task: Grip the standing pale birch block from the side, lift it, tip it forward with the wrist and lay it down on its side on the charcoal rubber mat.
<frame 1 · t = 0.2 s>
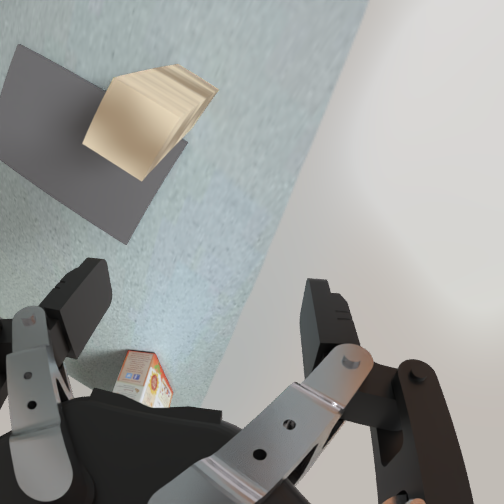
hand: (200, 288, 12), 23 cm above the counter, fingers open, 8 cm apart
cracker box: (151, 371, 58), on the counter
mat: (67, 142, 32), on the counter
wooden block: (184, 96, 29), on the counter
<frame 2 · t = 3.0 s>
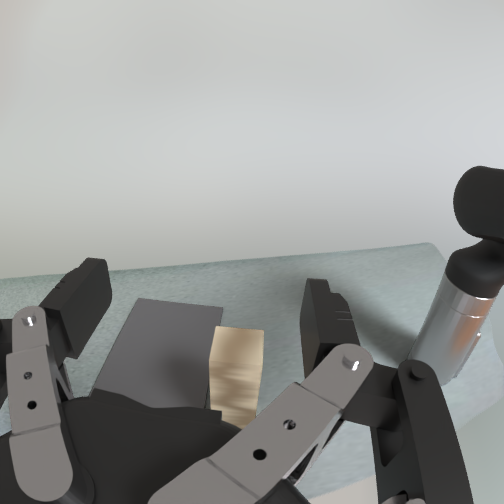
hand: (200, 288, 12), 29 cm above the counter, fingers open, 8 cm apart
mat: (161, 355, 47), on the counter
wooden block: (233, 419, 38), on the counter
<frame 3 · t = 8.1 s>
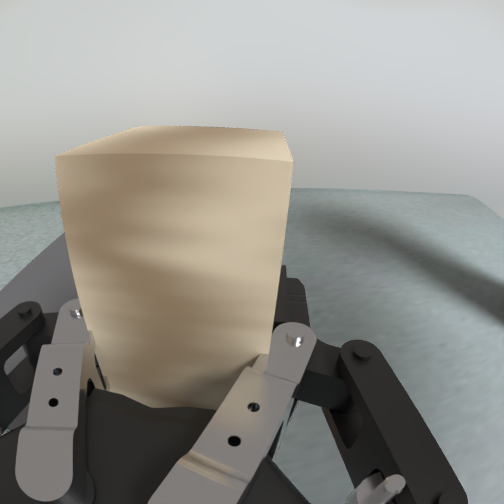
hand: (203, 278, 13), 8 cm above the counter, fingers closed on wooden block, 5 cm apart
mat: (78, 298, 23), on the counter
wooden block: (201, 436, 14), on the counter, touching gripper
when the fingers open (8 cm above the counter, at t = 15.8 s): wooden block moves 2 cm and tips over, resting on mat.
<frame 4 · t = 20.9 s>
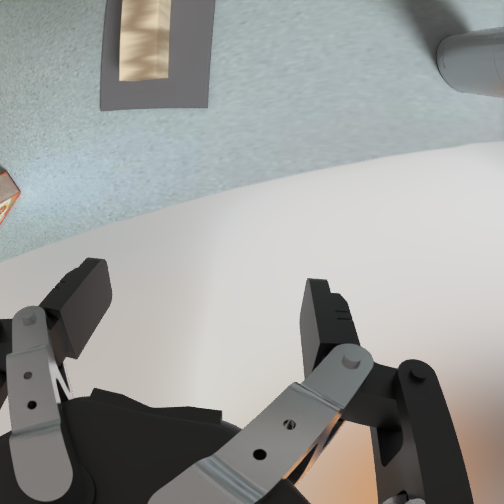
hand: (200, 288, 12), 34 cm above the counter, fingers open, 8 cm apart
cracker box: (0, 202, 48), on the counter
mat: (156, 21, 34), on the counter
wooden block: (144, 78, 36), point 3 cm above the counter, tilted 90°, touching mat
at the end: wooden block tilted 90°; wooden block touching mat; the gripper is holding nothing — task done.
